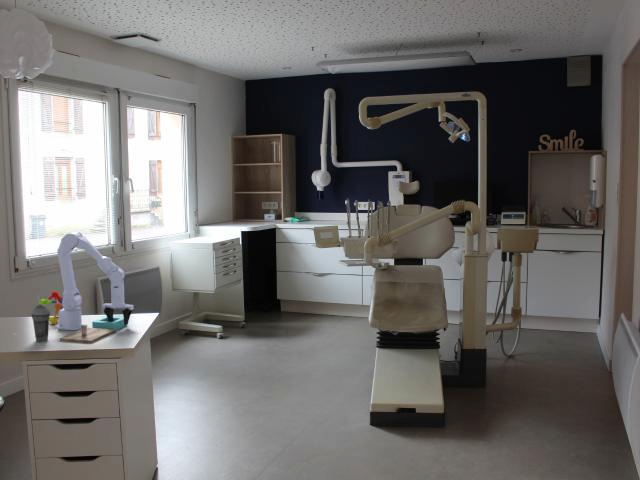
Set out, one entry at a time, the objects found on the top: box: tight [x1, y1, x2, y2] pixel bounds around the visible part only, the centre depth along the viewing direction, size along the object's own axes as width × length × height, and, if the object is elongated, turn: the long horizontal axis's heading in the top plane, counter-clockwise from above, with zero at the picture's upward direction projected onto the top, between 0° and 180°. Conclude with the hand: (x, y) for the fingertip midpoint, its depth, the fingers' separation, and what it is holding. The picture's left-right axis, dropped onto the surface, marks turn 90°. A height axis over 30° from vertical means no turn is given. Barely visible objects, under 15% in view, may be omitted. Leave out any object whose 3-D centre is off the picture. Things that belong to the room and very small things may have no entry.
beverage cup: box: [30, 293, 51, 343], centre depth 269 cm, size 7×7×20 cm
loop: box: [91, 315, 127, 331], centre depth 293 cm, size 11×11×4 cm
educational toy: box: [39, 291, 64, 325], centre depth 304 cm, size 16×13×15 cm
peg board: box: [59, 324, 117, 344], centre depth 277 cm, size 15×19×6 cm
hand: (118, 324), depth 292 cm, fingers open, 7 cm apart
